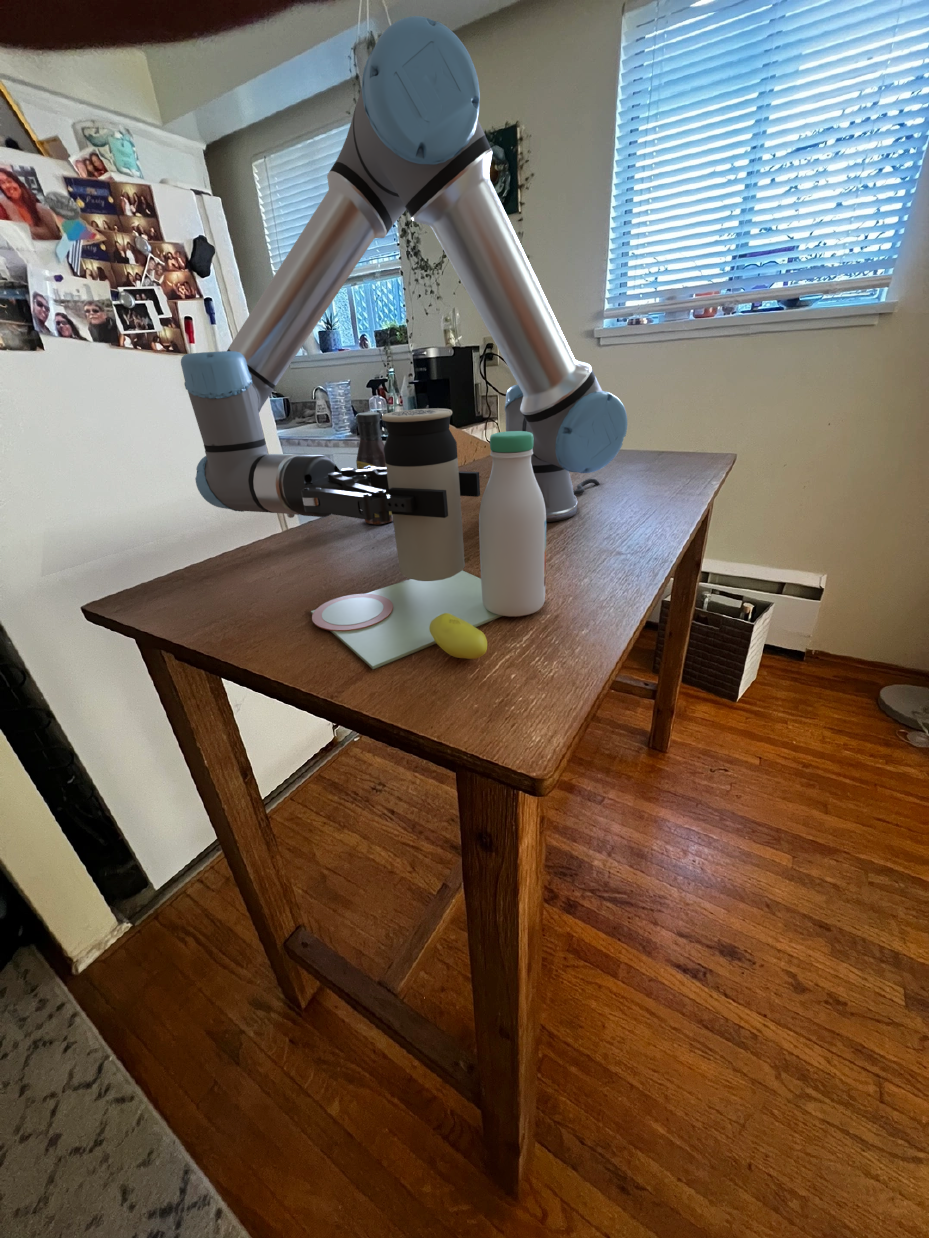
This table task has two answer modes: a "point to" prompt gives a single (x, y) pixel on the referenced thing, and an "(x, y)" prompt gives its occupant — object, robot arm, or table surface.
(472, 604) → the placemat
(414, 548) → the travel mug
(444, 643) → the lemon
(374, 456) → the sauce bottle
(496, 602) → the milk bottle
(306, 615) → the table surface
